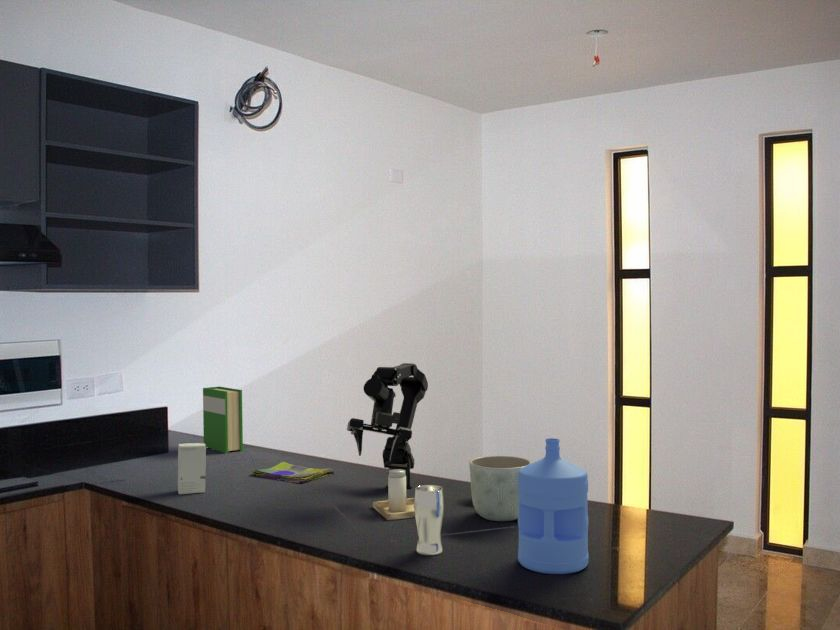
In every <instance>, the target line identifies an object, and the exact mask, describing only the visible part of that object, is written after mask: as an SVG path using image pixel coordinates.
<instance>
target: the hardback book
mask: <svg viewBox="0 0 840 630" xmlns="http://www.w3.org/2000/svg"><path fill="white" fill-rule="evenodd" d="M202 405H203V406H202V408H203V409H202V410H203V411H202V413H203V416H202V417H203V421H202V422H203V443H205V445H206V447H208V448H211V449H214V450H217V451H216V452H218V451H220V452H219V453H222V452H224V453H223V454H225V453H227V454H229V452H231V451H238V450H239V451H238V452H243V451H244V447H243V446H244V445H243V443H244V440H243V437H244V436H243V431H244V430H243V429H244V428H243V390H242V389H238V388H230V387H225V386H210V387H203V388H202ZM211 449H210V450H211ZM214 450H213V451H214Z"/></svg>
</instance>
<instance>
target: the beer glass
mask: <svg viewBox="0 0 840 630" xmlns="http://www.w3.org/2000/svg"><path fill="white" fill-rule="evenodd" d="M414 490H415V491H414V498H415V501H414V508H415V517H414V519H415V522H416V523H415V524H416V527H417V528H416V529H417V545H416V553H418V554H419V555H423V556H435V555H440V554H441V553H442V552H443V545H442V539H441V531H442V526H443V521H444V514H445V513H444V511H445V505H444V504H445V501H444V488H443V486H440V485H437V484H436V485H435V484H423V485H419V486H415V488H414Z"/></svg>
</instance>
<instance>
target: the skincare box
mask: <svg viewBox="0 0 840 630" xmlns="http://www.w3.org/2000/svg"><path fill="white" fill-rule="evenodd" d="M206 453H207V448H206V445H205V443H204V442H198V443H197V442H194V443H193V442H192V443H191V442H190V443H189V442H188V443H187V442H186V443H178V444H177V492H178V495H188V494H189V495H191V494H199V493H200V494H201V493H205V492H206V464H207V463H206V462H207V461H206V459H207V457H206V456H207V454H206Z"/></svg>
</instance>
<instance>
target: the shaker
mask: <svg viewBox="0 0 840 630" xmlns="http://www.w3.org/2000/svg"><path fill="white" fill-rule="evenodd" d="M387 487H388V488H387V489H388V492H387V493H388V494H387V495H388V499H387V500H388V507H389V511H390V512H396V513H397V512H404V511H406V499H407V488H406V475H405V470H402V469H393V470H389V476H388V486H387Z"/></svg>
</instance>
